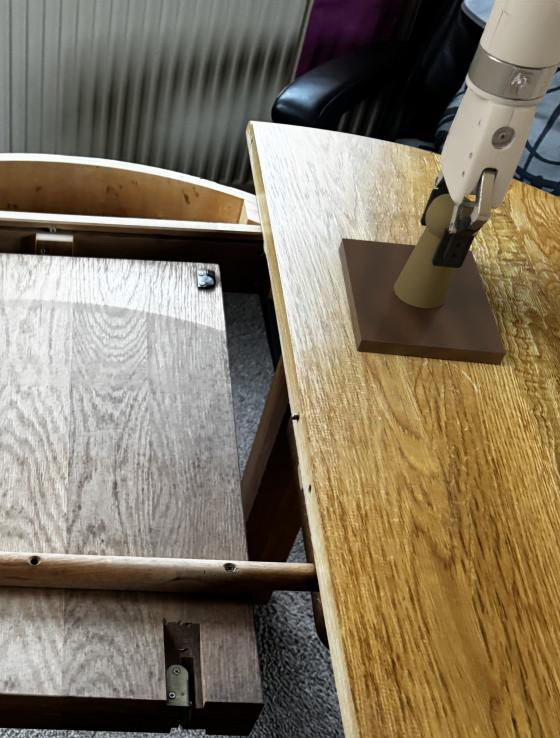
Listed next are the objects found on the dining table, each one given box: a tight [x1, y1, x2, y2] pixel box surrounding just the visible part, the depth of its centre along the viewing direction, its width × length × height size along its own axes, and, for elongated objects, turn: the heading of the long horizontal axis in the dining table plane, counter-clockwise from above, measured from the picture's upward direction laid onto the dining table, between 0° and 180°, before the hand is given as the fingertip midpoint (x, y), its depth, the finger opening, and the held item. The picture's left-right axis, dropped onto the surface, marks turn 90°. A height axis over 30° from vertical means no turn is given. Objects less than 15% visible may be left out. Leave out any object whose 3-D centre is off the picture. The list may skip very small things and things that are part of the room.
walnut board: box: [338, 237, 507, 365], centre depth 108 cm, size 16×20×2 cm
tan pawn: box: [394, 194, 474, 308], centre depth 103 cm, size 6×6×11 cm
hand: (440, 244), depth 102 cm, fingers open, 7 cm apart
